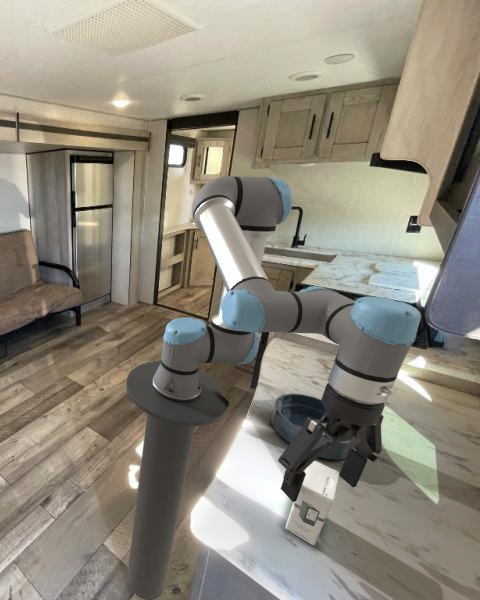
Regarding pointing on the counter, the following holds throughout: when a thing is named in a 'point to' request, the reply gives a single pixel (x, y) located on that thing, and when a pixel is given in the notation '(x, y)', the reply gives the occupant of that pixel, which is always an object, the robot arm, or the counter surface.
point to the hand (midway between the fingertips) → (318, 487)
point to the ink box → (313, 502)
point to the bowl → (303, 421)
